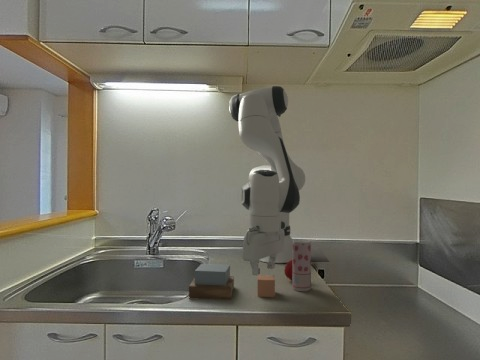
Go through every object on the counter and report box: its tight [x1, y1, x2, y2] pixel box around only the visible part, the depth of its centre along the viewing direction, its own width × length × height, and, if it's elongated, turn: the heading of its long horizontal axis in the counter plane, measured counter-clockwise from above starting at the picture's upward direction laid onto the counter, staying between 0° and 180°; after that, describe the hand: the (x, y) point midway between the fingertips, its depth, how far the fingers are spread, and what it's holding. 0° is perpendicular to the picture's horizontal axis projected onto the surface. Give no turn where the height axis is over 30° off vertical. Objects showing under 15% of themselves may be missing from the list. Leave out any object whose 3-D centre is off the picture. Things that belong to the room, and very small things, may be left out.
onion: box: [283, 258, 293, 282], centre depth 130 cm, size 6×6×8 cm
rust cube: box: [257, 274, 276, 298], centre depth 117 cm, size 5×5×5 cm
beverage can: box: [291, 238, 312, 292], centre depth 122 cm, size 6×6×15 cm
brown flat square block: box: [188, 275, 235, 300], centre depth 118 cm, size 12×12×4 cm
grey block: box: [194, 263, 231, 286], centre depth 118 cm, size 9×9×4 cm
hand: (263, 271), depth 116 cm, fingers open, 8 cm apart
